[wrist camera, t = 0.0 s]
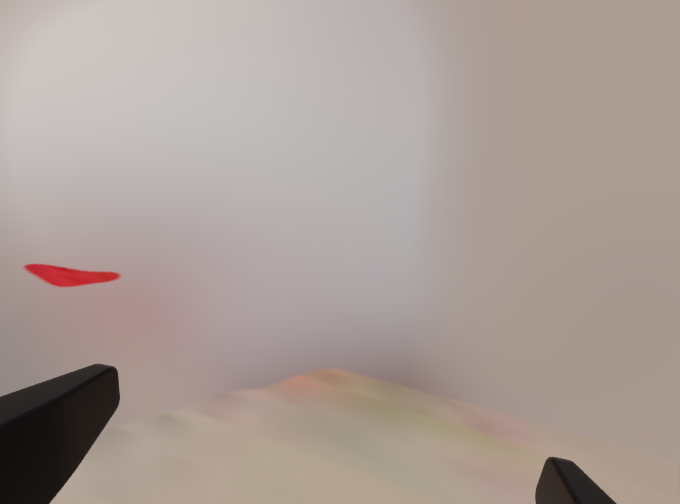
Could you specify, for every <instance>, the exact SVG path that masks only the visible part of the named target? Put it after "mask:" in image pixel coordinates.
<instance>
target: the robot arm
mask: <svg viewBox="0 0 680 504" xmlns="http://www.w3.org/2000/svg"><path fill="white" fill-rule="evenodd" d="M119 400H120V393H119V380H118V372H117V369H116V368H115V367H113V366H108V365H104V364H94V365H91V366H88V367H85V368H82V369H79V370H76V371H74V372H71V373H68V374H65V375H62V376H59V377H56V378H53V379H51V380H47V381H45V382H42V383H39V384H36V385H33V386H30V387H27V388H24V389H21V390H19V391H16V392H13V393H10V394H7V395H4V396H1V397H0V504H49V503H50V502H51V501H52V500H53V498H54V497H55V496H56V495H57V493H58V492H59V491H60V490H61V488H62V487H63V486H64V485H65V483H66V482H67V481H68V479H69V478H70V477H71V476H72V474H73V473H74V471H75V470H76V469H77V467H78V466H79V464H80V463H81V462H82V460H83V459H84V457H85V456H86V454H87V453H88V451H89V450H90V448H91V447H92V445H93V444H94V442H95V441H96V439H97V438H98V436H99V435H100V433H101V432H102V430H103V429H104V427H105V426H106V424H107V423H108V421H109V420H110V418H111V417H112V415H113V414H114V412H115V411H116V409H117V407H118V404H119ZM535 499H536V504H616V503H615V502H614V501H613V500H612V499H611V498H610V497H609V496H608V495H607V494H606V493H605V492H604V491H603V490H602V489H601V488H600V487H599V486H598V485H597V484H596V483H595V482H594V481H592V480H591V479H590V478H589V477H588V476H587V475H586V474H585V473H584V472H583V471H582V470H581V469H580V468H579V467H578V466H577V465H576V464H575V463H574V462H572V461H570V460H566V459H561V458H557V457H549V458H548V459H547V460H546V462H545V464H544V467H543V470H542V473H541V476H540V479H539V482H538V484H537V488H536V494H535Z"/></svg>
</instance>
